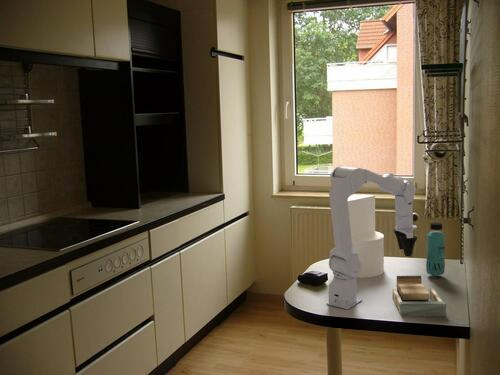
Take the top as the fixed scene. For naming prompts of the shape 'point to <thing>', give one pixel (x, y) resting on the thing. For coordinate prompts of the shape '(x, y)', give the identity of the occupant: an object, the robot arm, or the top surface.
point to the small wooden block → (411, 288)
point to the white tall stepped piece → (366, 235)
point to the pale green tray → (421, 306)
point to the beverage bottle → (435, 250)
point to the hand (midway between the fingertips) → (405, 252)
